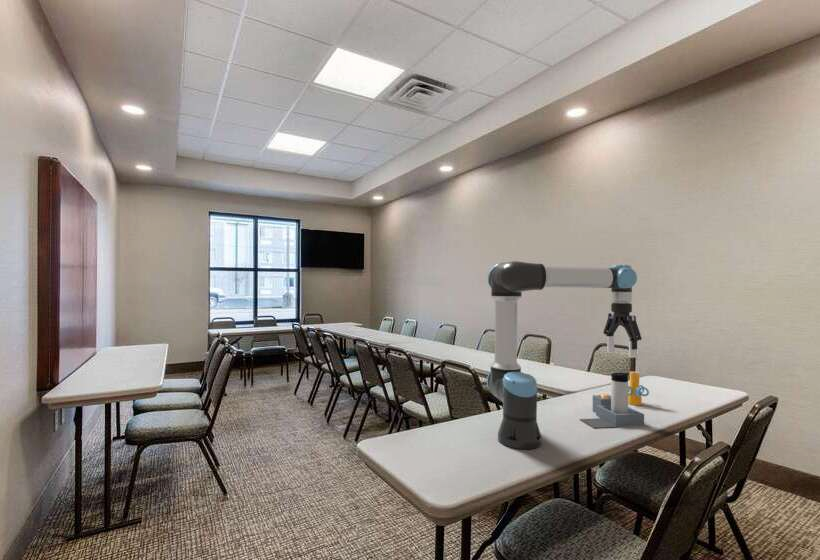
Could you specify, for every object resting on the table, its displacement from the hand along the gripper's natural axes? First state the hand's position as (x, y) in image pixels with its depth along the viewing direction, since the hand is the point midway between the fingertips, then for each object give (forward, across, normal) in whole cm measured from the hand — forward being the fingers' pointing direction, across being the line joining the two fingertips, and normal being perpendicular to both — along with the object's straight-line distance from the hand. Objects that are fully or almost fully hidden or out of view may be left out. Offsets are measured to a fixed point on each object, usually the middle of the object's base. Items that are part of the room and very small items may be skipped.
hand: (621, 354), depth 163 cm
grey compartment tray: (+28, +7, -2) cm, 29 cm away
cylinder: (+28, +25, -25) cm, 45 cm away
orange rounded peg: (+27, +13, -2) cm, 30 cm away
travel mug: (+28, +3, -2) cm, 28 cm away
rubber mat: (+28, +1, +10) cm, 30 cm away
